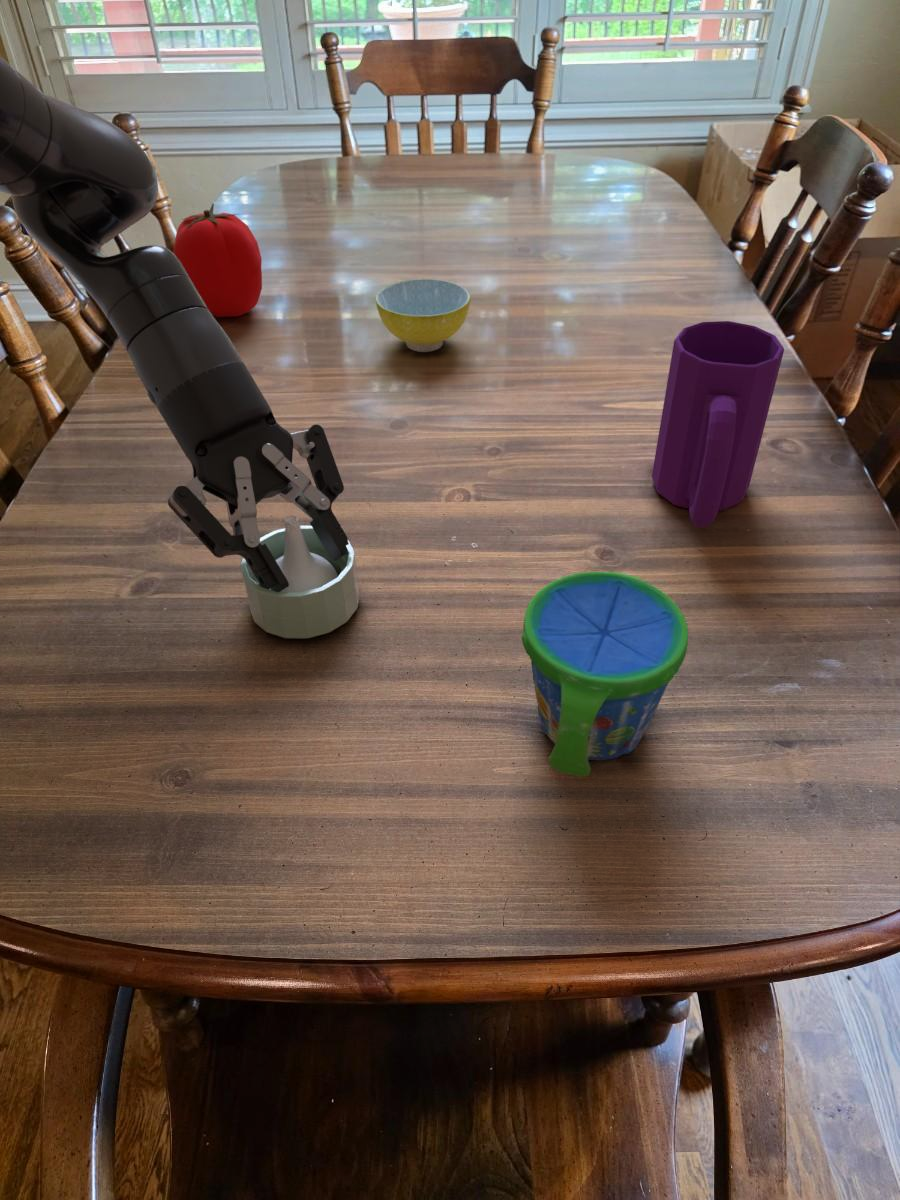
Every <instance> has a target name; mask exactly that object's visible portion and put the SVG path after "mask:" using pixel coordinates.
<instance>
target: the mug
mask: <svg viewBox="0 0 900 1200" xmlns="http://www.w3.org/2000/svg"><path fill="white" fill-rule="evenodd" d="M784 352H785V347H784V346H783V344H782V343H781V341H780V340H779V338H778V337H777V336H776V335H775V334H773V333H771V332H769V331H766V330H764V329H762V328H761V327H758V326H756V325H753V324H747V323H741V322H735V321H731V320H721V321H718V320H717V321H701V322H698V323H695V324H691V325H689V326H687V327H683V328H682V329H681V331H680V332H679V333H678V335H677V336H676V337H675V339H674V340H673V346H672V352H671V358H670V363H669V370H668V376H667V382H666V388H665V394H664V398H663V399H664V400H663V406H662V412H661V418H660V423H659V430H658V436H657V443H656V448H655V454H654V460H653V466H652V473H651V479H652V482H653V485H654V487H655V489H656V493H657V494H659V495H660V496H661V497H663V498H664V499H666V500H667V501H669V502H670V503H671V504H672V505H674V506H677V507H680V508H685V509H689V510H688V512H689V519H690V522H691V524H692V525H693V526H694V527H697V528H700V529H701V528H707V527H709V526H710V525H711V524H713V522H714V520H715V519H716V517H717V515H718V512H719V511H724V510H727V509H729V508H731V507H734V506H736V505H738V504H740V503H742V502H743V500H744V498H745V495H746V493H747V492H748V489H749V487H750V485H751V480H752V477H753V473H754V469H755V466H756V461H757V458H758V453H759V450H760V445H761V441H762V438H763V434H764V430H765V427H766V422H767V419H768V414H769V410H770V406H771V403H772V399H773V395H774V391H775V387H776V384H777V380H778V376H779V372H780V368H781V364H782V360H783V356H784Z"/></svg>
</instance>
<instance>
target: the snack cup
mask: <svg viewBox="0 0 900 1200" xmlns="http://www.w3.org/2000/svg"><path fill="white" fill-rule="evenodd" d="M521 641H522V642H521V643H522V646H523V649H524V651H525V653H526V654H527V655H528V657H529V659H530V660H531V661H530V664H531V672H532V678H533V685H534V686H533V687H534V692H535V698H536V703H537V713H538V717H539V719H540V724H541V729H542V732H543V734H544V735H546V736H547V737H548V738H549V740H550V741H551V742H552V743H553V744H554V746H553V749H552V751H551V752H550V754H549V757H548V761H549V765H550V767H551V768H553V769H554V770H556V771H558V772H560V773H562V774H566V775H567V774H568V775H572V776H576V777H587V776H588V775H589V774H591V770H592V769H591V765H590V762H589V761H605V760H613V759H614V760H615V759H617V758H618V757H620V756H623V755H628V754H630V753H631V752H632V751H634V750H635V749H636V748H637V746H638V745H639V743H640V741H641V740H642V738H644V735H645V732H646V731H647V729H648V727H649V725H650V724H651V721H652V719H653V717H654V715H655V714H656V713H655V712H656V710H657V708H658V707H659V704H660V702H661V700H662V698H663V696H664V694H665V691H666V689H667V687H668V685H669V682H671V680H672V679H673V678H674V677H675V675H676V674H677V673H678V672H679V669H680V668H681V666H682V664H683V663H684V660H685V657H686V654H687V650H688V645H689V644H688V643H689V629H688V623H687V619H686V617H685V615H684V614H683V612H682V611H681V609H680V607H679V606H678V605H677V604H676V602H674V601H673V599H671V597H670V596H669V595H668V594H666V593H665V592H663V591H662V590H661V589H659V588H658V587H656V586H655V585H652V584H651V583H649V582H646V581H644V580H642V578H641V577H637V576H634V575H630V574H626V573H622V572H616V571H585V572H578V573H573V574H569V575H566V576H563V577H561V578H557V579H555V580H553V581H551V582H549V583H548V584H546V585H545V586H544V587H542V588H541V589H540V590H538V591H537V593H536V594H535V595H534V596H533V597H532V598H531V600H530V601H529V603H528V605H527V607H526V609H525V613H524V618H523V627H522V634H521Z"/></svg>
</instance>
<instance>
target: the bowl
mask: <svg viewBox="0 0 900 1200" xmlns="http://www.w3.org/2000/svg"><path fill="white" fill-rule="evenodd" d="M375 303H376V304H375V305H376V309H377V312H378V315H379V317H380V319H381V322H382V324H383V325H384V327H385V328H386V329H387V330H388V331H389V332H390V333H391V334H392V335H393V336H394V337H396V338H397V339H399V340H401V341H402V342H405V344H406V347H407V348H408V350H409V349H410V350H411V351H414V352H417V353H430V352H435V351H437V350H439V349H441V348H442V346H443V343H444V341H446V340H448V339H450V338H451V337H452V336H454V335H455V334H456V333H457V332H458V331H459V330H460V329H461V327H462V326H463V324H464V323H465V321H466V319H467V317H468V314H469V313H468V312H469V309H470V305H471V295H470V292H469V291H468V290H467V289H466V288H465V287H463V286H462V285H460V284H457V283H455V282H453V281H449V280H443V279H438V278H437V279H435V278H433V279H432V278H417V279H416V278H415V279H407V280H402V281H399V282H394V283H392V284H389V285H387V286H385V287H383V288H382V289H381V290H379V291H378V292H377V294H376V295H375Z"/></svg>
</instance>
